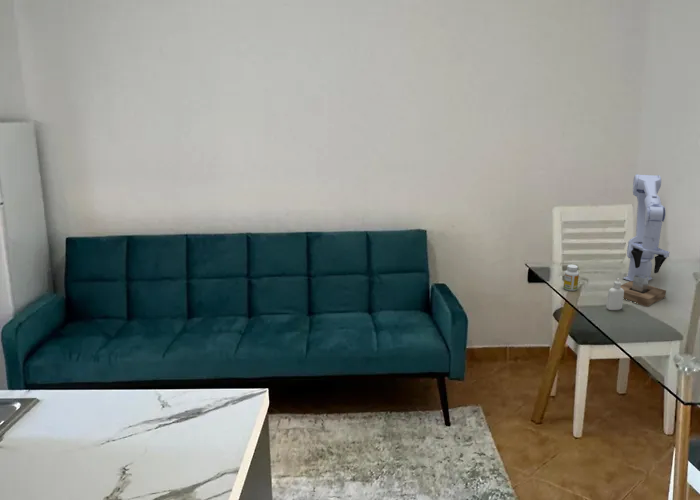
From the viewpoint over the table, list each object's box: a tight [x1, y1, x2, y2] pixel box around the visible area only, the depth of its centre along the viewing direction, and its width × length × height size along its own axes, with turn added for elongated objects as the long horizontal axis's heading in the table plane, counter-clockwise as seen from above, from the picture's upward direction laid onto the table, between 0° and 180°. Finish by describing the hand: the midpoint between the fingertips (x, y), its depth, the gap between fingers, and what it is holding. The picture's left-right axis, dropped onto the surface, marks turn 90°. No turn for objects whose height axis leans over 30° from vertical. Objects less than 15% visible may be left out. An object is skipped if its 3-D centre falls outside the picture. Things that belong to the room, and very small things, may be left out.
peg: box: [632, 274, 650, 294], centre depth 251 cm, size 4×4×8 cm
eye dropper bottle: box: [605, 278, 624, 311], centre depth 240 cm, size 4×6×12 cm
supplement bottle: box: [563, 264, 580, 292], centre depth 260 cm, size 5×5×10 cm
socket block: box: [620, 281, 667, 308], centre depth 252 cm, size 14×14×3 cm
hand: (646, 270), depth 251 cm, fingers open, 7 cm apart
